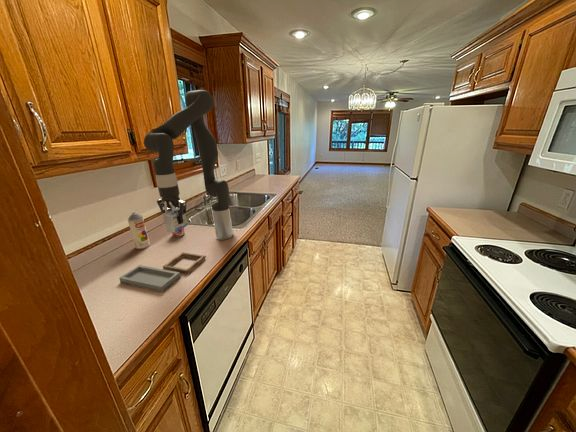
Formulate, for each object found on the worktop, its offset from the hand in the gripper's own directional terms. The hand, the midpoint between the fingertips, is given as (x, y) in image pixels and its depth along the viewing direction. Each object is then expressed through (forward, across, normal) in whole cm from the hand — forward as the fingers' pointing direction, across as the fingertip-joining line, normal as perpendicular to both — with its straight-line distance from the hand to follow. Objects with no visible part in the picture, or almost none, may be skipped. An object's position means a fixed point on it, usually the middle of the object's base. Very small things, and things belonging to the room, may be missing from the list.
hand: (175, 222), depth 105 cm
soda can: (+22, +26, -26) cm, 43 cm away
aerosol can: (+22, +35, -8) cm, 42 cm away
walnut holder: (+21, 0, 0) cm, 21 cm away
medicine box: (+3, 0, 0) cm, 3 cm away
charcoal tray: (+21, +6, +14) cm, 26 cm away
